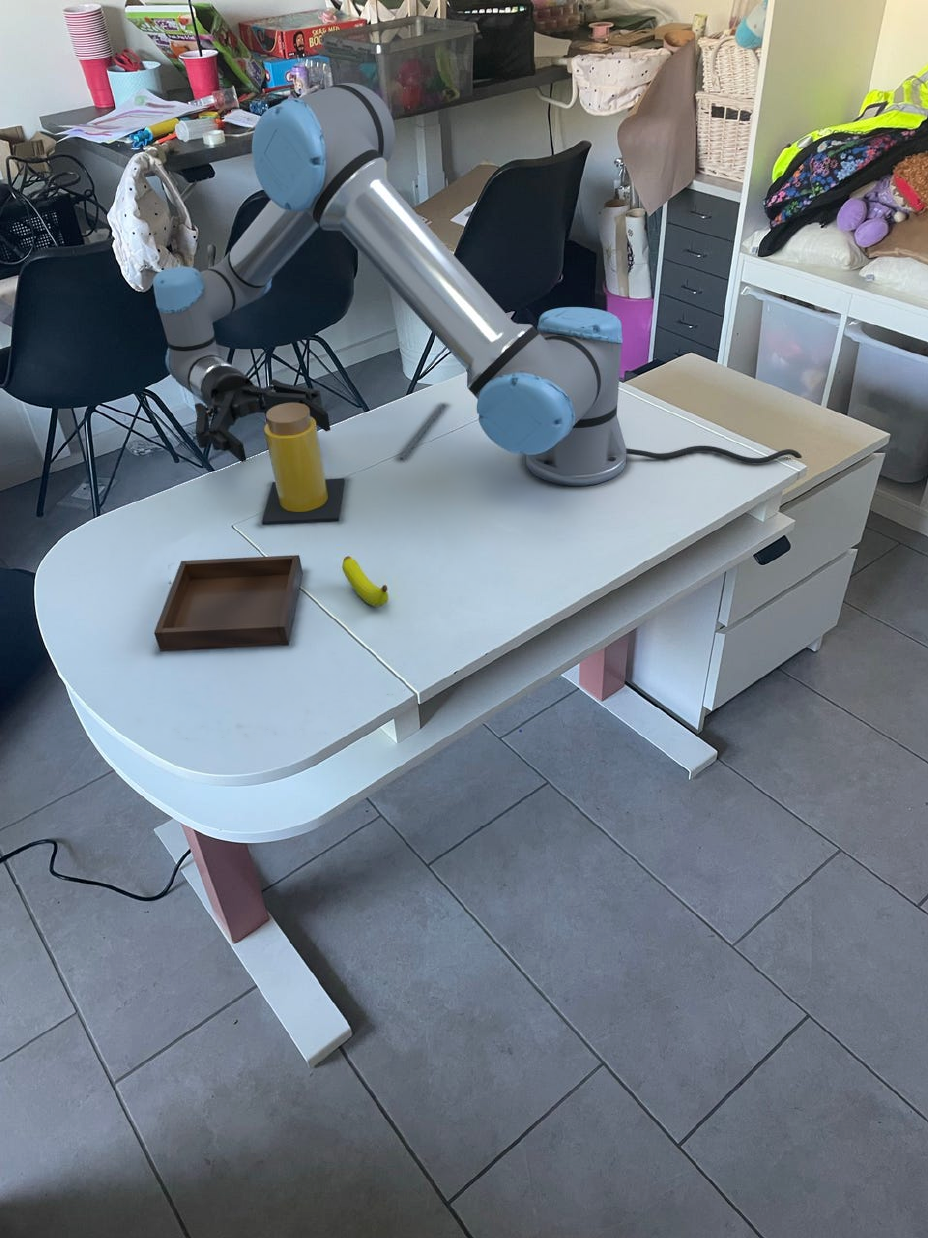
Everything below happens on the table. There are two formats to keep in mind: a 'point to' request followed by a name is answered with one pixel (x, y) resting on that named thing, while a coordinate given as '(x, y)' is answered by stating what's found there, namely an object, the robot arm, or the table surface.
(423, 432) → the rod
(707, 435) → the table surface
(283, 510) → the mat
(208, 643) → the box
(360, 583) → the fruit
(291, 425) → the jar
